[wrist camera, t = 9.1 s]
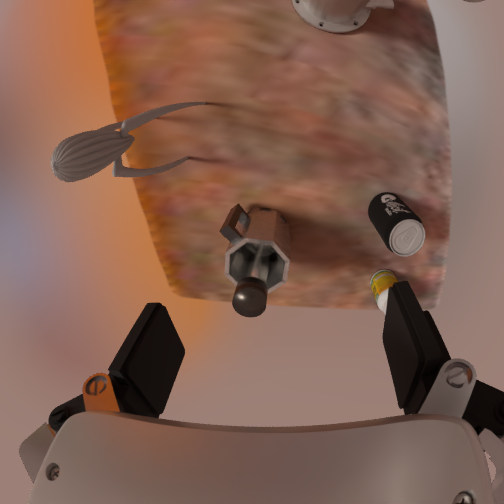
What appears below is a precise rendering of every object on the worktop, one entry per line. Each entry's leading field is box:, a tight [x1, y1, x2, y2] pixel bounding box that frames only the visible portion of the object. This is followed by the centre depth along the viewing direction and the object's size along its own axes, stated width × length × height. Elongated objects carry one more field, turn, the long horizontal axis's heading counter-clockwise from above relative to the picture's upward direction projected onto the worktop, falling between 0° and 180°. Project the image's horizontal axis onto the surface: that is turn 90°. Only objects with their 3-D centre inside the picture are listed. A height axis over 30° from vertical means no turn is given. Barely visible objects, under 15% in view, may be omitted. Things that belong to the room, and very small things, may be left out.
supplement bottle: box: [370, 270, 398, 315], centre depth 49 cm, size 5×5×10 cm
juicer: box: [51, 102, 207, 182], centre depth 30 cm, size 10×9×30 cm
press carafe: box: [220, 204, 290, 293], centre depth 46 cm, size 12×9×12 cm
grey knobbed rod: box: [232, 242, 276, 317], centre depth 42 cm, size 6×6×18 cm
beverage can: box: [368, 192, 425, 257], centre depth 41 cm, size 7×7×12 cm
